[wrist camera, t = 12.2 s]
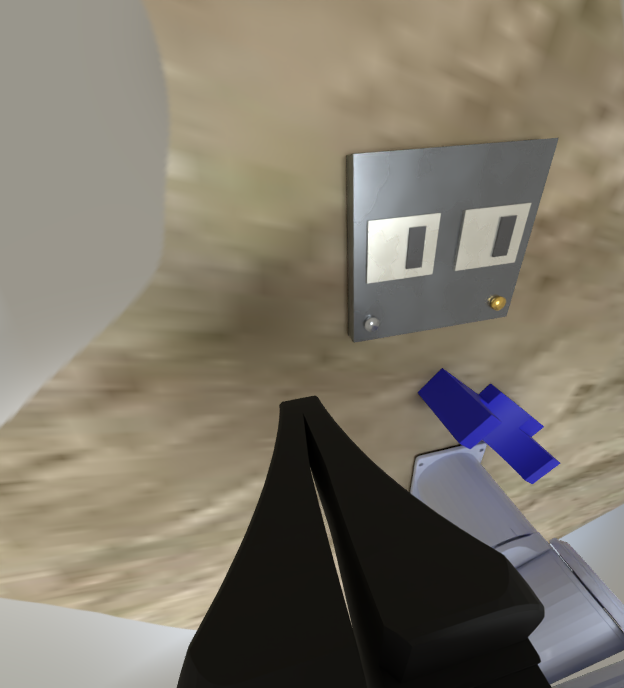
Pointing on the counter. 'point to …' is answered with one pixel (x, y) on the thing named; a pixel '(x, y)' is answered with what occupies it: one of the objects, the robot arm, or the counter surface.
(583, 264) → the counter surface
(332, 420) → the robot arm
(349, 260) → the panel
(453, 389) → the cable clip
